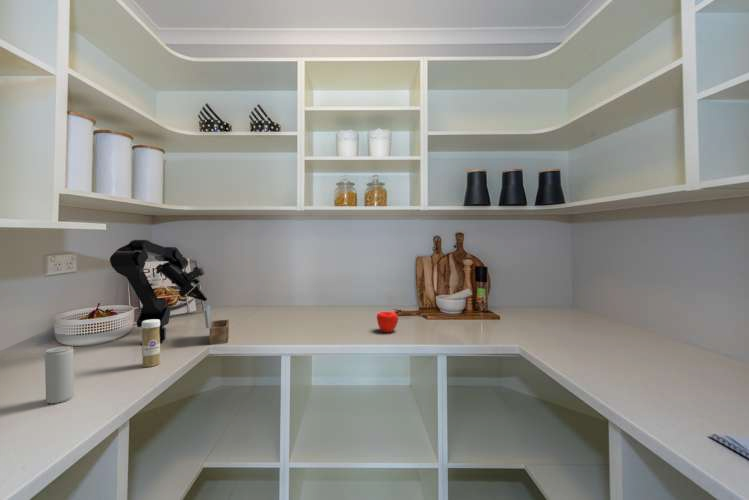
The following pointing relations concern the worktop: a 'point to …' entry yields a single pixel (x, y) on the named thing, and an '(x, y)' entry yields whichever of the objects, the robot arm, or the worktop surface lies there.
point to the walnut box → (219, 332)
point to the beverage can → (59, 374)
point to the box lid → (207, 316)
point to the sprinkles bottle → (150, 342)
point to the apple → (387, 321)
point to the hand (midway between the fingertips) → (206, 300)
